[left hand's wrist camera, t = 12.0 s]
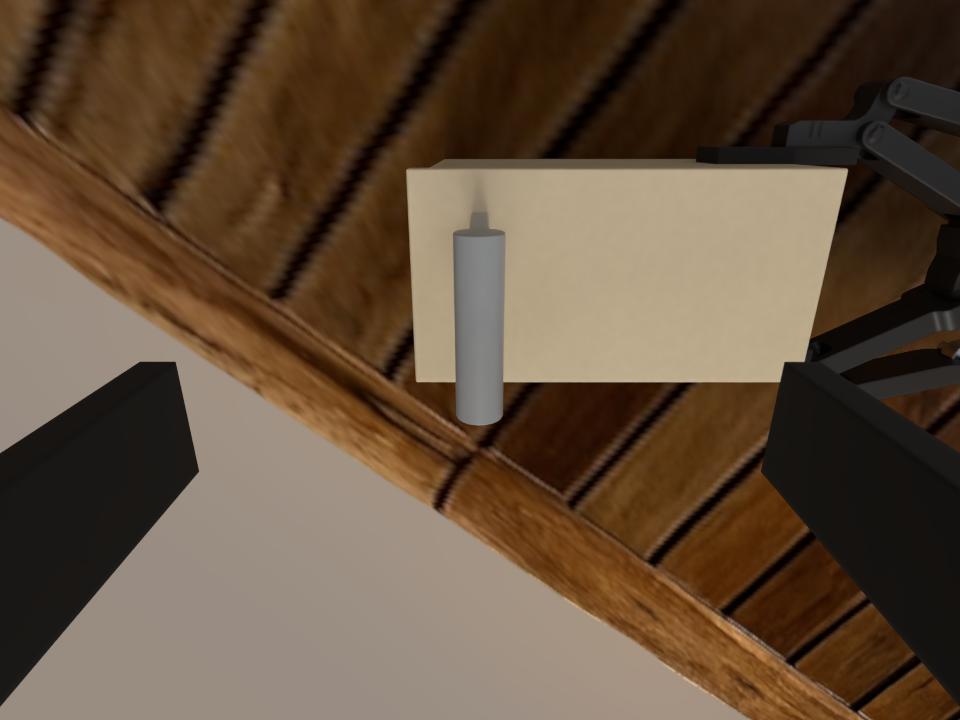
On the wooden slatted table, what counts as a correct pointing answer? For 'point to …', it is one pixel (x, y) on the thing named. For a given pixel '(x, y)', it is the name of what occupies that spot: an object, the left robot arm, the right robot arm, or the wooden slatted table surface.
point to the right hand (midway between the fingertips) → (692, 257)
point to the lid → (614, 274)
